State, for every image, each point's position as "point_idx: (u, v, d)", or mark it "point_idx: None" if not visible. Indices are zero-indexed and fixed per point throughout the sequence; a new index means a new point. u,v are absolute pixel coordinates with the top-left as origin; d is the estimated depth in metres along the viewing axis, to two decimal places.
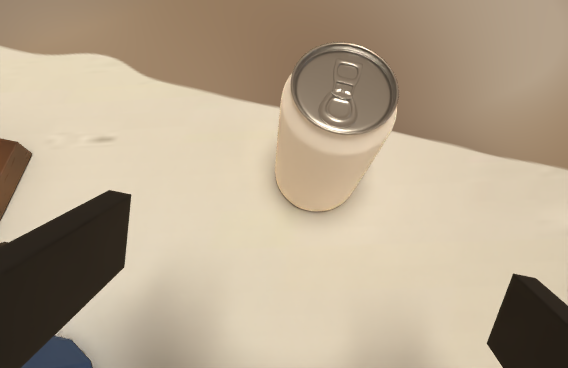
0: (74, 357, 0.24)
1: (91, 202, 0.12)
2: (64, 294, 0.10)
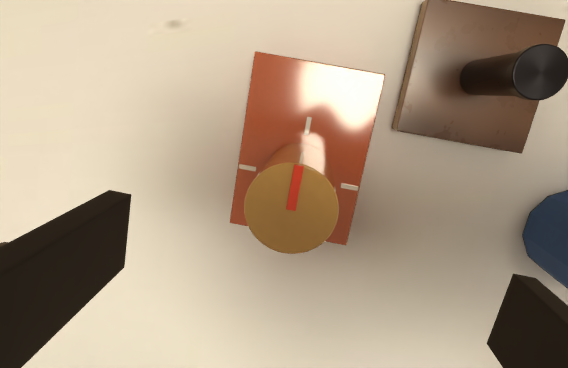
0: None
1: (91, 202, 0.12)
2: (64, 294, 0.10)
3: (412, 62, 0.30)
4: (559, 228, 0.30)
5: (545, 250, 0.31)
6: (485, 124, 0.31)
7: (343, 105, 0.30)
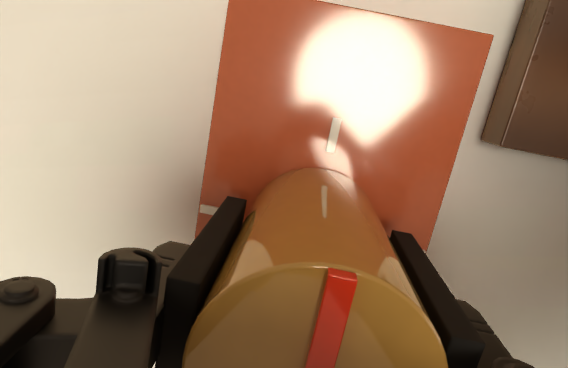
0: None
1: (223, 207, 0.14)
2: None
3: (541, 14, 0.15)
4: None
5: None
6: None
7: (405, 95, 0.15)
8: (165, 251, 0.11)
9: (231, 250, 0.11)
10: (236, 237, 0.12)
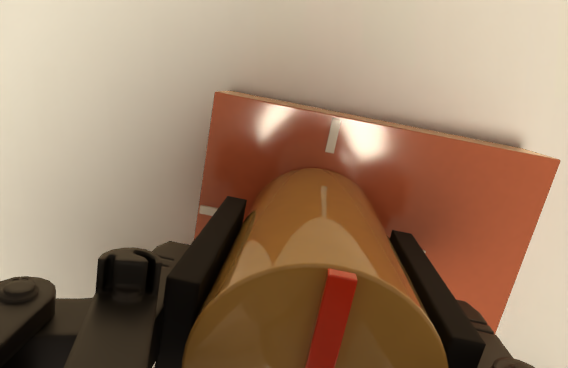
0: None
1: (223, 207, 0.14)
2: None
3: None
4: None
5: None
6: None
7: None
8: (165, 251, 0.11)
9: (231, 251, 0.11)
10: (236, 238, 0.12)
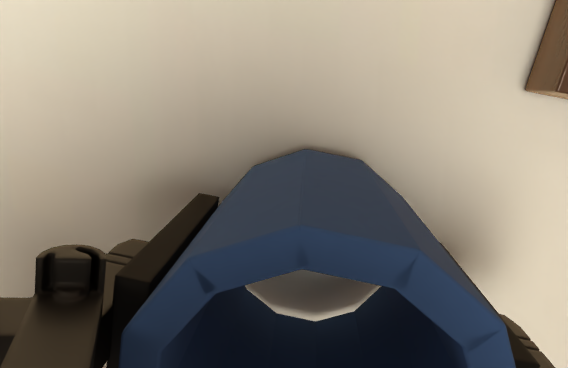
0: None
1: (192, 204, 0.13)
2: None
3: None
4: (383, 192, 0.10)
5: (302, 170, 0.11)
6: None
7: None
8: (125, 249, 0.11)
9: None
10: None
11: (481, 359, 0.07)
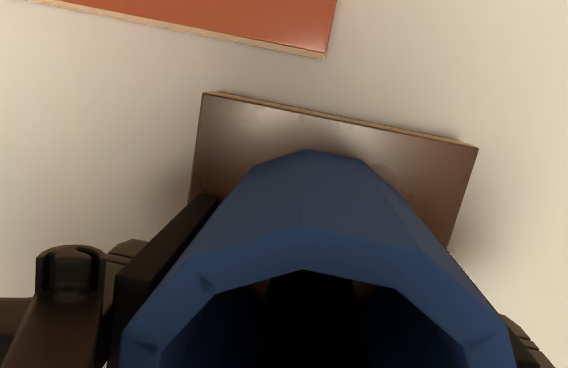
0: None
1: (192, 204, 0.13)
2: None
3: (347, 121, 0.14)
4: (383, 192, 0.10)
5: (302, 170, 0.11)
6: None
7: None
8: (125, 249, 0.11)
9: None
10: None
11: (482, 360, 0.07)
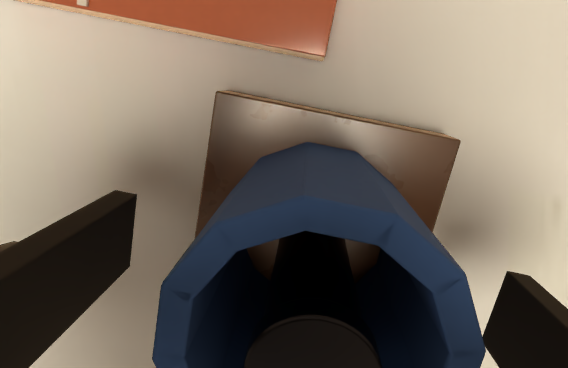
0: None
1: (98, 202, 0.12)
2: (72, 293, 0.10)
3: (344, 116, 0.16)
4: (373, 176, 0.12)
5: (304, 159, 0.13)
6: None
7: None
8: None
9: None
10: None
11: (447, 302, 0.09)
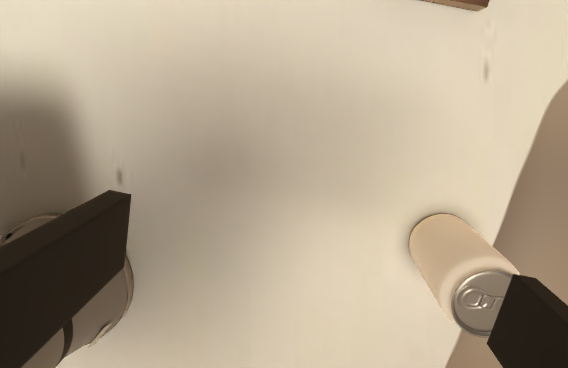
0: None
1: (91, 202, 0.12)
2: (64, 294, 0.10)
3: None
4: None
5: None
6: None
7: None
8: None
9: None
10: None
11: None
